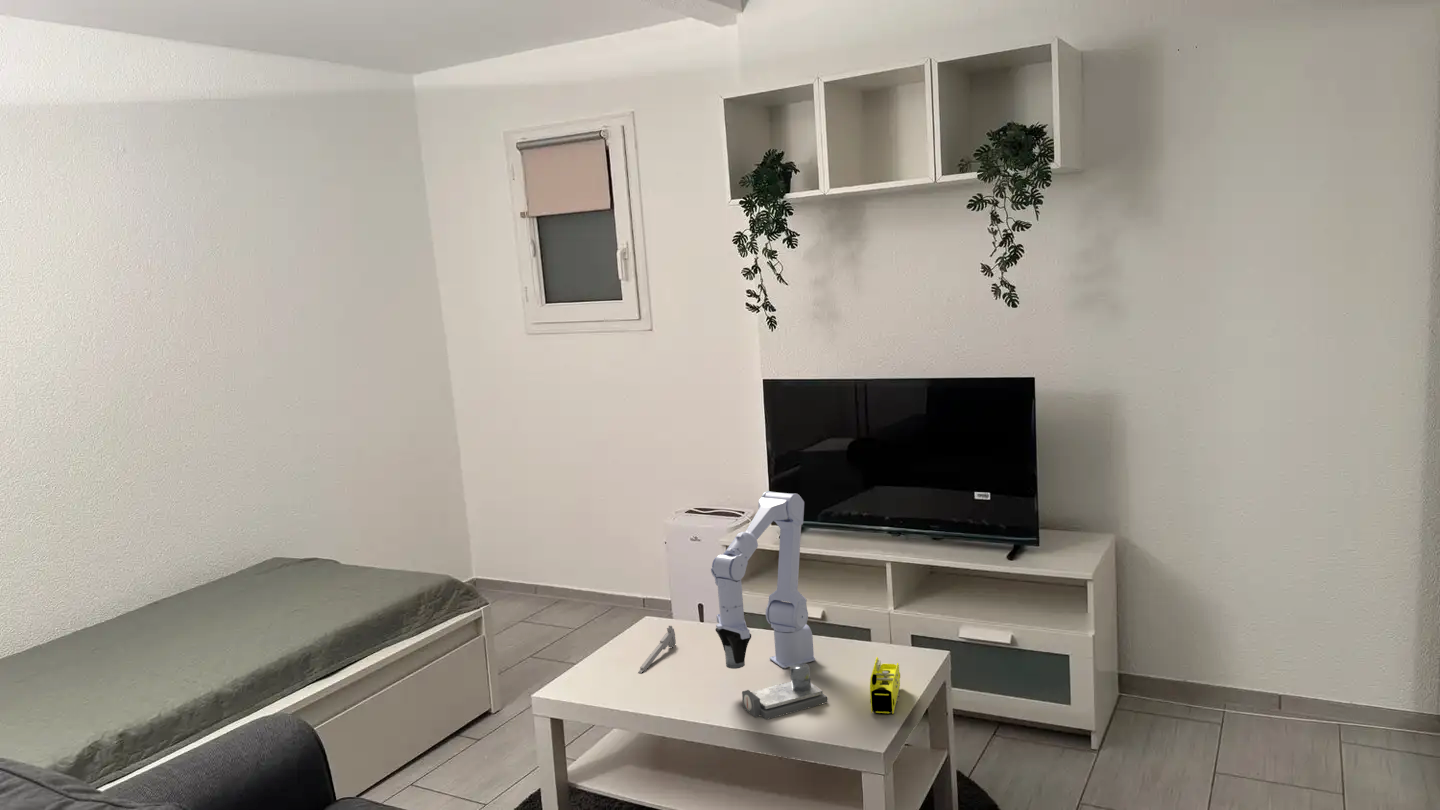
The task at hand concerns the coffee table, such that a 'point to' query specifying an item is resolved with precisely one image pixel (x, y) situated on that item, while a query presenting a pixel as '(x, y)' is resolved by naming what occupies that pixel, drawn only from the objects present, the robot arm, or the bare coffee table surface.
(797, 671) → the block
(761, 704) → the pan
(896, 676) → the yellow toy chassis
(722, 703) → the coffee table surface
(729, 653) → the cylinder
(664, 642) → the caliper
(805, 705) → the scale base
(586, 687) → the coffee table surface
